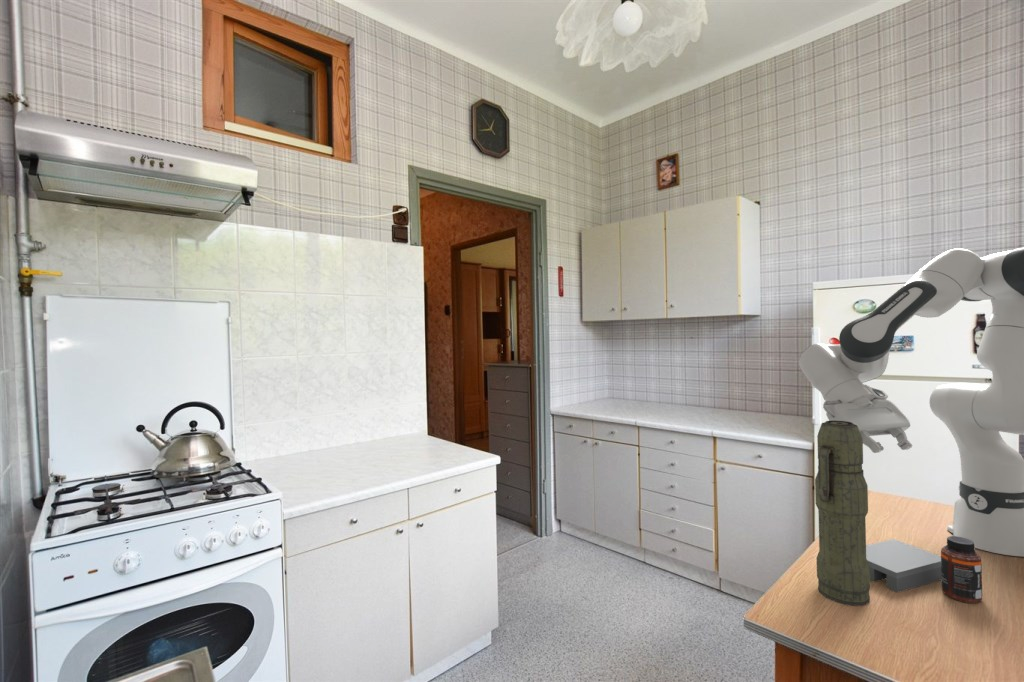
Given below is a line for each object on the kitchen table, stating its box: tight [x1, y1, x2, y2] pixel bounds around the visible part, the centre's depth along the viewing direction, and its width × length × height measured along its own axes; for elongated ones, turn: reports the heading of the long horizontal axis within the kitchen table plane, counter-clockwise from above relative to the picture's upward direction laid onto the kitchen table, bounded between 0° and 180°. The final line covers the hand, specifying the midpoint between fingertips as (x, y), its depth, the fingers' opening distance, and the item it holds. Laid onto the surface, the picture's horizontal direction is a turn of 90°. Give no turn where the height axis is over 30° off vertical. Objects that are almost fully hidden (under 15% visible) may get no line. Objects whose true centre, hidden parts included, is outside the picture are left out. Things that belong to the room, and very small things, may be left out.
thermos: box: [814, 420, 871, 607], centre depth 97 cm, size 9×12×35 cm
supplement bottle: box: [940, 535, 984, 604], centre depth 95 cm, size 6×6×11 cm
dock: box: [866, 538, 942, 593], centre depth 105 cm, size 16×11×4 cm
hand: (893, 449), depth 106 cm, fingers open, 8 cm apart
